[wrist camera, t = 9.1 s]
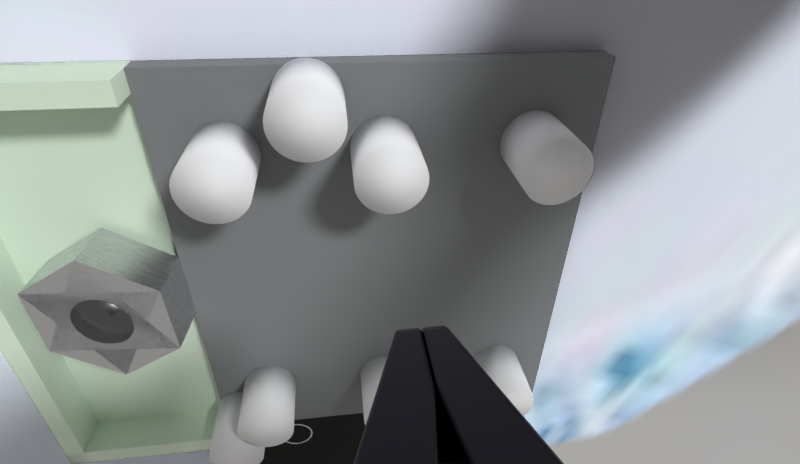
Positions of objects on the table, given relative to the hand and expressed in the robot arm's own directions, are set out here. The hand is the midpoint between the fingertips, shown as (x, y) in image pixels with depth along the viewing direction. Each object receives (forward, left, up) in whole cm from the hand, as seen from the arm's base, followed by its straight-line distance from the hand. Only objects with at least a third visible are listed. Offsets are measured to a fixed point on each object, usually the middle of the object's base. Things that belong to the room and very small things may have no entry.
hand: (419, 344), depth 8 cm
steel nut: (+10, +7, -11) cm, 16 cm away
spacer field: (+3, +7, -12) cm, 14 cm away
